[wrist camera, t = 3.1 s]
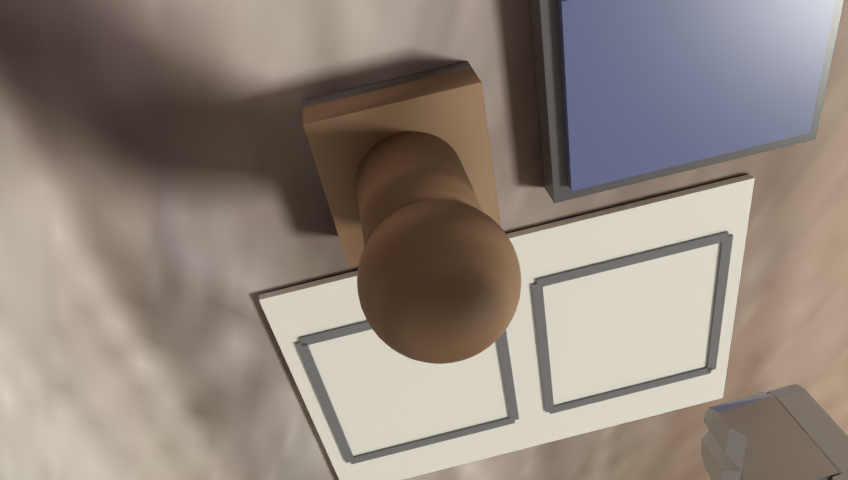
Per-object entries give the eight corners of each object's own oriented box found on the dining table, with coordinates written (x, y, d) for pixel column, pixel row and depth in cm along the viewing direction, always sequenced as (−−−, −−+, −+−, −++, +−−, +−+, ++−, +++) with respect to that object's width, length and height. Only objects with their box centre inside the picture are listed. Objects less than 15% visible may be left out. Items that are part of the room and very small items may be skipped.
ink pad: (836, -97, 18) (870, -91, 17) (796, 126, 22) (821, 142, 21) (527, -25, 18) (541, -14, 17) (545, 188, 22) (557, 207, 21)
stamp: (467, 60, 19) (564, 209, 12) (487, 201, 22) (575, 386, 15) (302, 100, 19) (303, 273, 12) (345, 235, 22) (366, 439, 15)
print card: (749, 174, 23) (756, 179, 22) (719, 392, 30) (723, 399, 29) (259, 294, 22) (258, 302, 22) (345, 488, 29) (345, 496, 29)
